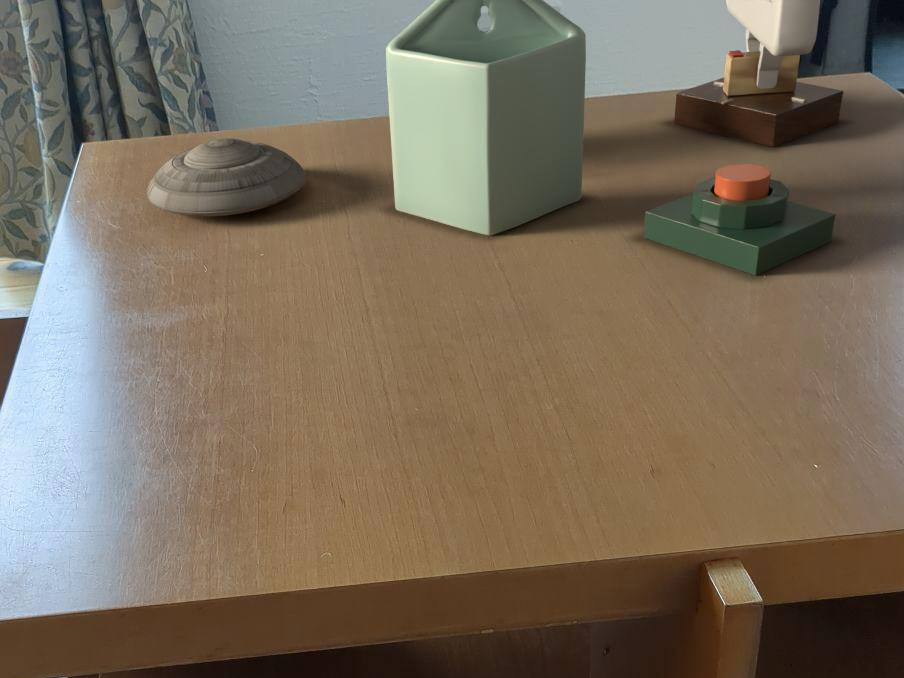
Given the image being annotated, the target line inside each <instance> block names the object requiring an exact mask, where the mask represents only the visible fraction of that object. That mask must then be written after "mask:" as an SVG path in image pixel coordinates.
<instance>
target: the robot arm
mask: <svg viewBox="0 0 904 678" xmlns="http://www.w3.org/2000/svg"><path fill="white" fill-rule="evenodd" d="M725 2H726V3H725V4H726V9H727V12H729V13H730V14H731V15H732V16H733V17H734V18H735V19H736V20H737V21H738V22H739V23H740V24H741V26H743V27H744V28H745V34H744V35H745V48H746V52H756V51H760V52H761V53H760V58H759V64H758V66H756V70H755V79H754V82H755V84H756V85H757V86H758V88H760V89H771V88H774V87H775V86H776V84H777V78H778V70H779V68H780V65H781V63H782V60H783V58H784V56H791V55H800V56H802V55H808V54H810V53H811V52H812V50H813V49H814V48H813V47H814V46H815V43H816V40H817V36H818V35H817V34H818V26H819V16H820V6H821V0H725Z"/></svg>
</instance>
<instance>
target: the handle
mask: <svg viewBox="0 0 904 678" xmlns="http://www.w3.org/2000/svg"><path fill="white" fill-rule="evenodd" d="M760 53H761V52H760V51H756V52H747V51H745V52H742V51H741V50H729V51H728V53H726V57H725V65H724V75H723V78H724V85H723V91H724V92H725V94H726V95H727V96H735V95H749V94H764V93H778V92H792V91H795V89H796V82H798V81H797V80H798V75H799V66H800V59H801V55H791V56H784V58H783V60H782V63H781V65H780V68H779V70H778V78H777V84H776V86H775V87H774V88H771V89H760V88H758V86H757V85H756V84H755V82H754V79H755V70H756V66H758V64H759V58H760Z"/></svg>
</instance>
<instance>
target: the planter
mask: <svg viewBox="0 0 904 678" xmlns="http://www.w3.org/2000/svg"><path fill="white" fill-rule="evenodd" d="M482 7H486V8H487V14H488V17H489V18H490V21H491V27H490V28H489V29H488V30H486V31H483V30H481V29H480V28H479V25H478V23H479V20H480V18H481V16H482ZM385 64H386V65H385V66H386V67H385V68H386V69H385V70H386V84H387V85H386V87H387V100H388V101H387V103H388V116H389V117H388V118H389V131H390V133H389V134H390V144H391V146H390V147H391V161H392V176H393V177H392V178H393V193H394V194H393V195H394V207H395V210H396V211H398V212H401V213H403V214H404V213H405V214H408V215H411V216H415V217H419V218H423V219H426V220H430V221H434V222H436V223H440V224H443V225H447V226H451V227H454V228H458V229H461V230H463V231H468V232H473V233H476V234H481V235H484V236H490V237H491V236H494V235H497V234H500V233H503V232H506V231H508V230H511V229H514V228H517V227H518V226H521V225H524V224H526V223H528V222H531V221H533V220H536V219H538V218H540V217H542V216H545V215H547V214H549V213H551V212H554V211H557V210H559V209H562V208H563V207H566V206H570V205H573V204H574V203H576V202H578V201H580V200H581V199H582V194H583V193H582V192H583V191H582V190H583V189H582V188H583V163H584V162H583V161H584V159H583V158H584V157H583V156H584V128H585V99H586V98H585V97H586V96H585V95H586V70H587V69H586V67H587V65H586V64H587V36H586V32H585V31H584V29H583V28H581V27H580V26H578V25H577V24H576V23H575V22H573V21H572V20H570V19H569V18H567V17H566V16H564V14H562V13H561V12H560V11H558V10H556V8H554V7H553V6H552V5H550V4H549V3H547V2H546V1H545V0H435V1H433V2H432V3H431V4H430V5H429V6H428V7H427V8H426V9H425V10H423V11H422V12H421V14H419V15H418V16H417V17H416V18H415V19H414V20H413V21H411V22H410V24H409V25H407V26H406V27H405V28H404V29H403V30H402V31H400V32H399V33H398V34H397V35H396V36H395V37H393V39H391V41H390V42H389V43H388V44H387V46H386V48H385Z"/></svg>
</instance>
